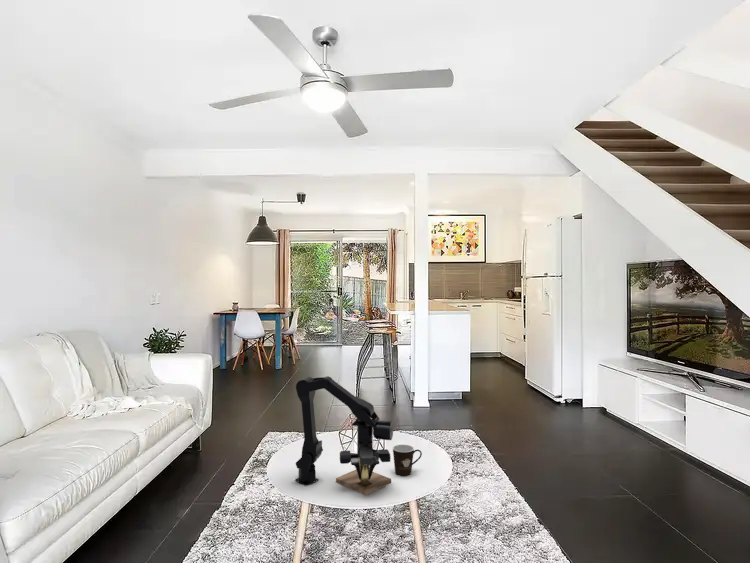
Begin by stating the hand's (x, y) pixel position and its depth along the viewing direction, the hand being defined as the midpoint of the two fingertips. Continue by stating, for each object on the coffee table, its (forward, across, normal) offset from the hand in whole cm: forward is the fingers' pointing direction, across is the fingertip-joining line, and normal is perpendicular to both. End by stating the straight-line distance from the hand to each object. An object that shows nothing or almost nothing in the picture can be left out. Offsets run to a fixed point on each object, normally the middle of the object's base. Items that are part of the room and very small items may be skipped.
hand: (364, 479), depth 173 cm
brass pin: (+2, 0, 0) cm, 2 cm away
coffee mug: (+3, +18, +11) cm, 22 cm away
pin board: (+3, 0, +5) cm, 6 cm away
